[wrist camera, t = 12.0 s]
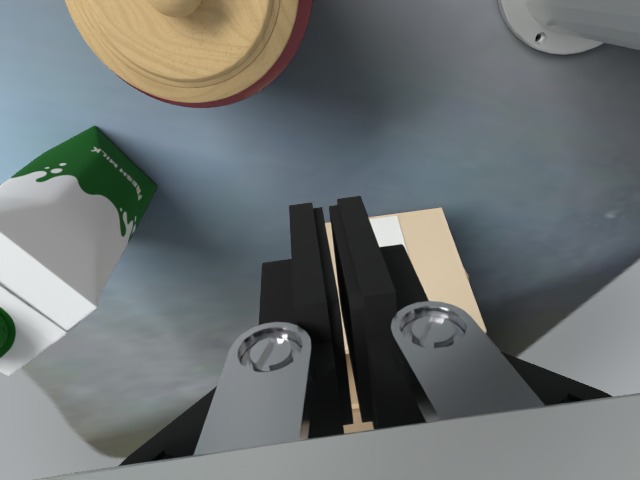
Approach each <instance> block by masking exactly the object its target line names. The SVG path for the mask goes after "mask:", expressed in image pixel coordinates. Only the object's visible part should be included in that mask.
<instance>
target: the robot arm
mask: <svg viewBox="0 0 640 480" xmlns="http://www.w3.org/2000/svg"><path fill="white" fill-rule="evenodd" d="M497 1H498V5H499V9H500V12H501V14H502V16H503V18H504V21H505V23H506V25H507V26H508V27H509V29H510V30H511V31H512V32H513V34H514V35H515V36H516V37H517V38H518V39H520V40H521V41H522V42H524V43H525V44H526V45H528V46H530V47H532V48H535V49H537V50H539V51H543V52H547V53H550V54H562V55H567V54H575V53H581V52H584V51H587V50H590V49H593V48H596V47H598V46H599V45H601V44H603V43H608V44H613V45H617V46H622V47H627V48H631V49H636V50H640V0H497ZM537 34H538V38H537V40H535V38H536V35H537ZM289 211H290V232H291V253H292V259H288V260H281V261H274V262H266V263H263V264H262V277H261V296H260V314H259V326H256V327H253V328H251V329H249V330H248V331H246V332H244V333H243V334H241V335H240V336H239V337H238V338H237V339H236V340H235V341H234V343H233V345H232V346H231V348H230V350H229V353H228V356H227V359H226V362H225V365H224V367H223V370H222V373H221V376H220V379H219V382H218V385H217V387H215V388H214V389H213V390H212V391H210V392H209V393H208V394H207V395H205V396H204V397H203V398H202V399H200V400H199V401H198V402H197V403H195V404H194V405H193V406H191V407H190V408H189V409H188V410H186V411H185V412H184V413H183V414H181V415H180V416H179V417H178V418H176V419H175V420H174V421H173V422H171V423H170V424H169V425H167V426H166V427H165V428H164V429H162V430H161V431H160V432H159V433H157V434H156V435H155V436H154V437H152V438H151V439H150V440H149V441H147V442H146V443H145V444H143V445H142V446H141V447H140V448H138V449H137V450H136V451H135V452H133V453H132V454H131V455H130V456H128V457H127V458H126V459H125V460H124V461H123V462H122V463H121V464H120V465H119V466H117V467H110V468H103V469H96V470H90V471H83V472H75V473H69V474H63V475H58V476H52V477H47V478H41V479H35V480H640V393H637V394H631V395H622V396H615V397H613V396H611V395H609V394H607V393H605V392H603V391H601V390H598V389H596V388H593V387H590V386H588V385H585V384H583V383H580V382H577V381H575V380H572V379H570V378H567V377H565V376H562V375H559V374H557V373H554V372H552V371H549V370H547V369H544V368H541V367H539V366H536V365H534V364H531V363H528V362H526V361H523V360H521V359H518V358H516V357H513V356H511V355H508V354H505V353H503V352H500V351H499V349H498V348H497V347H496V346H495V345H494V343H493V342H492V341H491V340H490V339H489V337H488V336H487V335H486V334H485V333H484V331H483V330H482V329H481V328H480V327H479V325H478V324H477V323H476V322H475V321H474V319H473V318H472V317H471V316H470V315H469V314H468V313H467V312H465V311H464V310H463V309H461V308H459V307H457V306H455V305H452V304H448V303H444V302H437V301H429V300H428V297H427V295H426V293H425V291H424V289H423V287H422V284H421V282H420V280H419V278H418V276H417V274H416V271H415V269H414V267H413V265H412V263H411V260H410V258H409V256H408V254H407V252H406V250H405V247H404V246H403V244H399V245H391V246H384V247H379V245H378V242H377V239H376V237H375V234H374V231H373V229H372V226H371V223H370V220H369V218H368V215H367V212H366V209H365V207H364V204H363V201H362V199H361V196H356V197H349V198H342V199H337V205H335V206H329V211H330V220H331V228H332V237H333V246H334V254H335V263H336V272H337V281H338V289H339V297H338V291H337V285H336V280H335V275H334V269H333V264H332V258H331V253H330V248H329V242H328V237H327V232H326V226H325V221H324V216H323V210H322V207H320V208H313V206H312V203H305V204H297V205H290V206H289ZM339 298H340V303H339ZM340 306H341V310H340ZM341 312H342V318H343V323H344V329H345V334H346V340H347V345H348V350H349V356H350V361H351V366H352V372H353V377H354V382H355V388H356V393H357V399H358V404H359V409H360V415H361V420H362V423H364V422H372V424H373V428H374V430H366V431H359V432H352V433H345V434H344V428H343V425H350V424H354V423H353V414H352V405H351V396H350V388H349V379H348V370H347V362H346V353H345V345H344V336H343V327H342V319H341Z"/></svg>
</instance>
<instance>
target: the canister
mask: <svg viewBox="0 0 640 480" xmlns="http://www.w3.org/2000/svg"><path fill="white" fill-rule="evenodd" d="M65 2H66V4H67V7H68V10H69V12H70V14H71V17H72V19H73V21H74V23H75V25H76V27H77V28H78V30H79V32H80V33H81V35H82V37H83V38H84V40H85V41H86V43H87V44H88V45H89V47H90V48H91V49H92V50H93V52H94V53H95V54H96V55H97V56H98V57H99V59H100V60H101V61H102V62H103V63H104V64H105V65H106V66H107V67H108V68H109V69H110V70H111V71H112V72H114V73H115V74H116V75H117V76H118V77H119V78H121V79H122V80H123V81H125V82H126V83H127V84H129V85H130V86H132V87H134V88H135V89H137V90H138V91H140V92H142V93H144V94H146V95H148V96H150V97H152V98H155V99H157V100H160V101H163V102H166V103H169V104H173V105H178V106H183V107H190V108H212V107H220V106H225V105H229V104H233V103H236V102H239V101H242V100H244V99H246V98H248V97H250V96H252V95H254V94H256V93H258V92H259V91H261V90H262V89H264V88H265V87H266V86H268V85H269V84H270V83H271V82H272V81H274V80H275V79H276V78H277V77H278V76H279V75H280V74H281V73H282V71H283V70H284V69H285V68H286V67H287V65H288V64H289V63H290V61H291V60H292V58H293V57H294V55H295V53H296V52H297V50H298V48H299V46H300V44H301V42H302V40H303V37H304V34H305V32H306V29H307V26H308V22H309V18H310V14H311V9H312V2H313V0H65Z"/></svg>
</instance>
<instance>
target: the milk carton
mask: <svg viewBox="0 0 640 480" xmlns="http://www.w3.org/2000/svg"><path fill="white" fill-rule="evenodd" d="M156 189H157V186H156V185H155V184H154V183H153V182H152V181H151V180H150V179H149V178H148V177H147V176H146V175H145V174H144V173H143V172H142V171H141V170H140V169H139V168H138V167H137V166H136V165H135V164H134V163H133V162H132V161H131V160H130V159H129V158H128V157H127V156H126V155H125V154H123V153H122V152H121V151H120V150H119V149H118V148H117V147H116V146H115V145H114V144H113V143H112V142H111V141H110V140H109V139H108V138H107V137H106V136H105V135H104V134H103V133H102V132H101V131H100V130H99V129H98V128H97V127H96V126H93V127H91V128H89V129H87V130H86V131H84V132H82V133H80V134H78V135H76V136H74V137H73V138H71V139H69V140H67V141H65V142H63V143H61V144H60V145H58V146H56V147H54V148H52V149H50V150H48V151H47V152H45V153H43V154H42V155H40V156H39V157H37V158H36V159H35V160H33V161H32V162H30V163H29V164H28V165H26V166H25V167H24V168H23V169H21V170H20V171H19V172H17V173H16V174H15V175H13V176H12V177H11V178H9V179H8V180H7V181H6V182H4V183H3V184H2V185H0V372H2V373H3V374H5V375H7V376H11V375H12V374H13V373H15V372H16V371H17V370H19V369H20V368H21V367H23V366H24V365H26V364H27V363H28V362H30V361H31V360H32V359H34V358H35V357H36V356H38V355H39V354H40V353H41V352H43V351H44V350H45V349H47V348H48V347H49V346H51V345H52V344H53V343H56V342H57V341H58V340H60V339H61V338H62V337H64V336H65V335H66V334H67V333H69V332H70V331H71V330H72V329H73V328H74V327H75V326H77V325H78V324H79V323H80V322H81V321H82V320H83V319H84V318H85V317H86V316H87V315H89V314H90V313H91V312H93V311H94V310H95V309H96V308H97V306H98V301H99V297H100V293H101V291H102V290H103V288H104V286H105V285H106V283H107V281H108V279H109V277H110V276H111V274H112V272H113V270H114V268H115V267H116V265H117V263H118V261H119V259H120V257H121V256H122V254H123V252H124V250H125V248H126V247H127V245H128V243H129V241H130V239H131V237H132V235H133V233H134V231H135V229H136V228H137V226H138V224H139V222H140V220H141V218H142V216H143V214H144V212H145V210H146V208H147V206H148V204H149V202H150V200H151V198H152V196H153V194H154V192H155V190H156Z"/></svg>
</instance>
